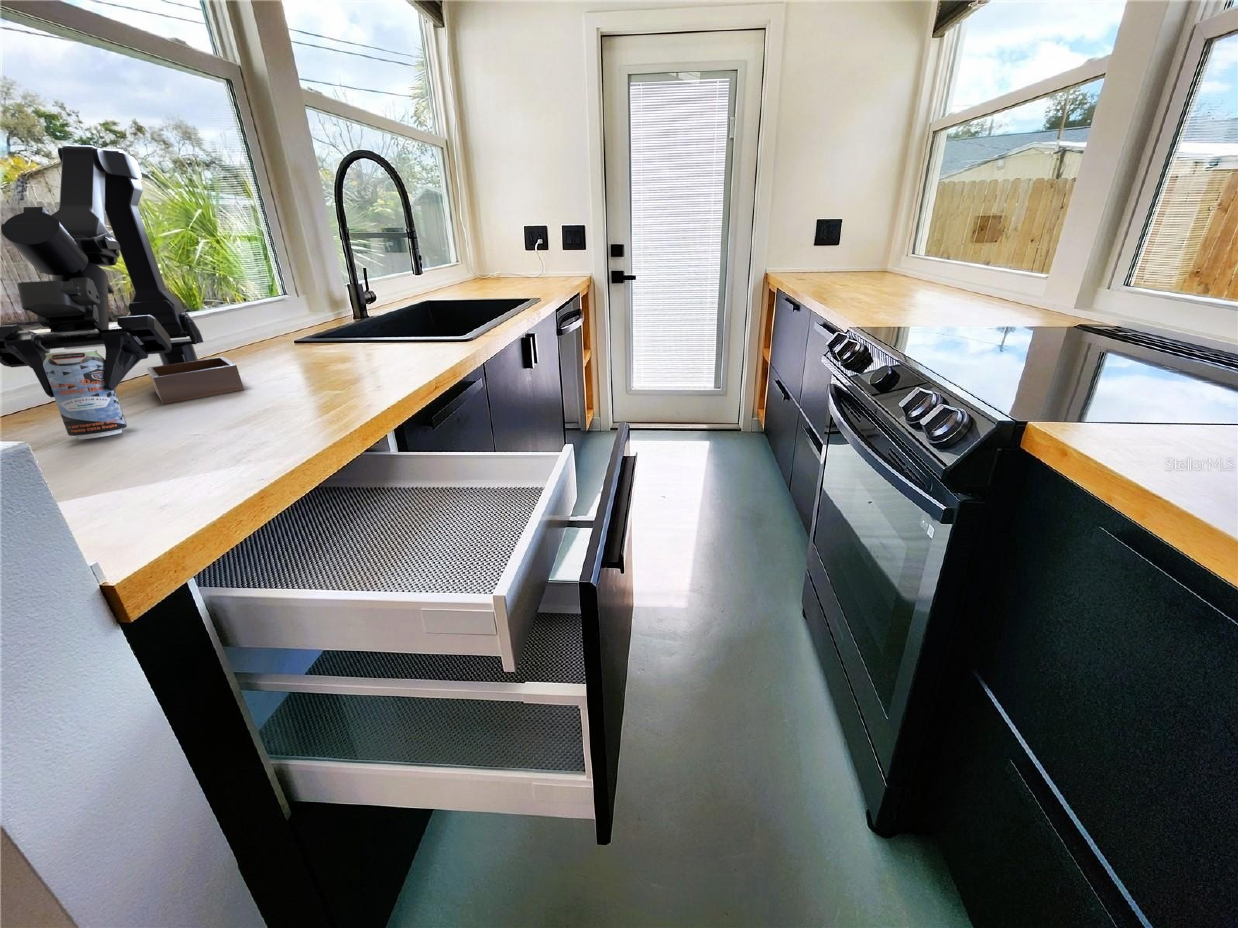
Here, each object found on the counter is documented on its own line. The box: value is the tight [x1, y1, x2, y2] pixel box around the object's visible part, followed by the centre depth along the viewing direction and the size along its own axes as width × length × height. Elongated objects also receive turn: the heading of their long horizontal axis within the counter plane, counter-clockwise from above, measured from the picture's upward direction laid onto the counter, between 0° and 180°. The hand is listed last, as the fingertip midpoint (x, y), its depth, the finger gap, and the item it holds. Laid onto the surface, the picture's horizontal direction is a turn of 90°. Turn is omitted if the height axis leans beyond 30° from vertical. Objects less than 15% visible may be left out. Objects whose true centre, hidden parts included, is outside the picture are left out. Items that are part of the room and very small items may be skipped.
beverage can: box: [43, 349, 128, 440], centre depth 72 cm, size 6×7×12 cm
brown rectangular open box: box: [146, 356, 245, 405], centre depth 96 cm, size 12×12×4 cm
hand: (80, 392), depth 71 cm, fingers closed on beverage can, 6 cm apart
